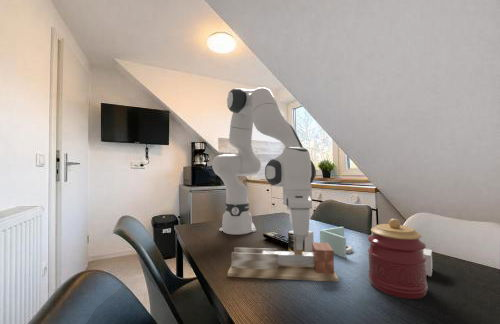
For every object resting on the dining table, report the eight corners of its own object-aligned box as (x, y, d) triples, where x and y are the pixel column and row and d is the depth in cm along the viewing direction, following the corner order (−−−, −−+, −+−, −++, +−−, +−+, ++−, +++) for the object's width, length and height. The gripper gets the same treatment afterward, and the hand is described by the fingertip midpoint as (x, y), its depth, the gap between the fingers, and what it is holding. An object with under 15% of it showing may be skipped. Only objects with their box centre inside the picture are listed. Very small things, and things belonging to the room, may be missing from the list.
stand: (227, 276, 66) (227, 250, 66) (235, 260, 78) (234, 238, 78) (338, 281, 62) (337, 254, 63) (328, 263, 74) (327, 240, 75)
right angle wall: (344, 259, 79) (343, 237, 79) (320, 249, 90) (319, 230, 90) (368, 254, 84) (367, 233, 84) (342, 244, 95) (341, 226, 95)
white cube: (431, 276, 65) (430, 255, 65) (406, 271, 69) (405, 250, 69) (432, 269, 70) (431, 249, 70) (408, 264, 73) (408, 245, 74)
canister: (360, 274, 66) (358, 214, 67) (405, 275, 66) (403, 214, 67) (385, 300, 53) (383, 224, 54) (441, 300, 53) (438, 224, 54)
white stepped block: (262, 264, 69) (261, 234, 70) (262, 260, 72) (262, 231, 73) (322, 267, 67) (322, 235, 68) (320, 262, 70) (320, 233, 71)
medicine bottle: (287, 250, 87) (287, 219, 87) (297, 246, 92) (297, 216, 93) (304, 255, 82) (304, 221, 82) (314, 250, 87) (313, 218, 88)
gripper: (285, 194, 81) (286, 234, 80) (288, 203, 61) (289, 255, 60) (303, 194, 80) (304, 234, 80) (312, 203, 60) (313, 256, 59)
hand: (297, 243), depth 70 cm, fingers open, 8 cm apart
